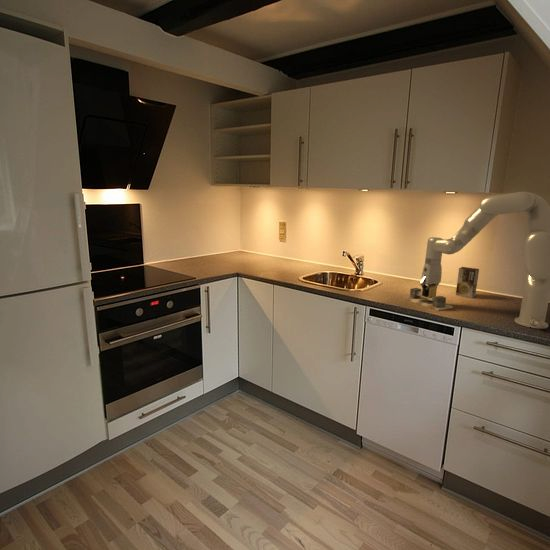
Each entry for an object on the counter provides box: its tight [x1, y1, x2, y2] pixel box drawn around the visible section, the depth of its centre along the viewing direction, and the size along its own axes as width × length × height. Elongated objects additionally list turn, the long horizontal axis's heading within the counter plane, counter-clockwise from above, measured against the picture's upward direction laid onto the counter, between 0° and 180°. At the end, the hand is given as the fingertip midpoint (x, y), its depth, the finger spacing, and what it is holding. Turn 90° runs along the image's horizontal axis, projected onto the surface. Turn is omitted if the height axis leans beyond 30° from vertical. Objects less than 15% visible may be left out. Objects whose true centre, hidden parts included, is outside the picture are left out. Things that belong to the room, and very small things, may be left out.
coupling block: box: [421, 284, 438, 299], centre depth 192 cm, size 5×5×7 cm
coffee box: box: [455, 266, 480, 299], centre depth 210 cm, size 9×6×16 cm
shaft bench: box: [404, 287, 453, 312], centre depth 193 cm, size 21×11×6 cm, turn 28°
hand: (428, 295), depth 192 cm, fingers closed on coupling block, 5 cm apart
